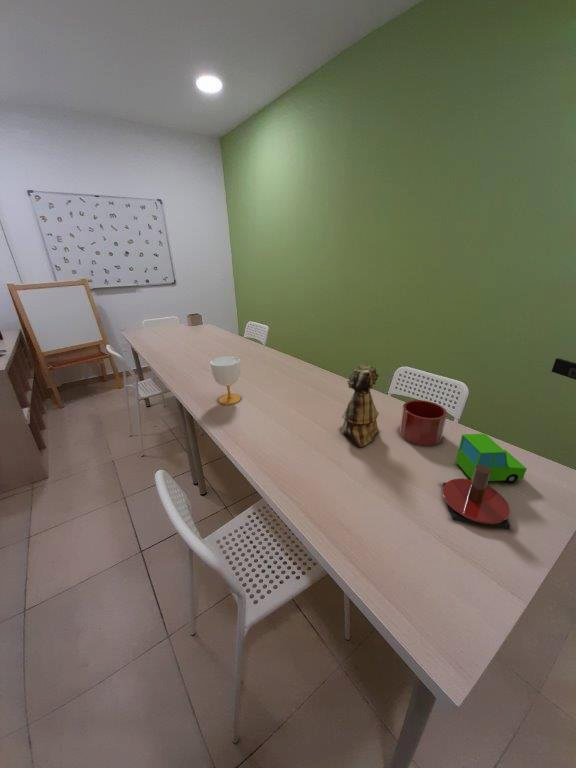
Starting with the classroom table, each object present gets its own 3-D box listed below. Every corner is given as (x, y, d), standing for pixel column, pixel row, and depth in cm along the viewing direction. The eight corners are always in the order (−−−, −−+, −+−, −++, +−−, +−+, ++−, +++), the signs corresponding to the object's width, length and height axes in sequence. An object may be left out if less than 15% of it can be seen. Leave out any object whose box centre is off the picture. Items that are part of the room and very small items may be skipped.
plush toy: (323, 432, 99) (343, 365, 86) (342, 416, 109) (362, 354, 97) (362, 454, 92) (389, 385, 80) (378, 435, 103) (404, 371, 90)
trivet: (491, 492, 74) (492, 489, 74) (509, 529, 64) (510, 525, 64) (442, 485, 77) (443, 482, 76) (452, 519, 67) (453, 516, 66)
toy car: (526, 486, 76) (538, 453, 72) (474, 488, 76) (483, 455, 72) (499, 460, 85) (509, 430, 81) (453, 462, 85) (460, 432, 81)
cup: (231, 391, 133) (227, 354, 126) (249, 398, 126) (246, 360, 119) (209, 400, 125) (204, 362, 118) (227, 408, 118) (222, 368, 111)
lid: (495, 487, 74) (506, 454, 70) (519, 531, 62) (532, 496, 59) (437, 478, 78) (444, 447, 74) (448, 519, 66) (457, 484, 62)
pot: (437, 427, 102) (442, 402, 98) (445, 448, 91) (451, 421, 87) (398, 422, 105) (401, 398, 101) (401, 443, 94) (405, 416, 90)
